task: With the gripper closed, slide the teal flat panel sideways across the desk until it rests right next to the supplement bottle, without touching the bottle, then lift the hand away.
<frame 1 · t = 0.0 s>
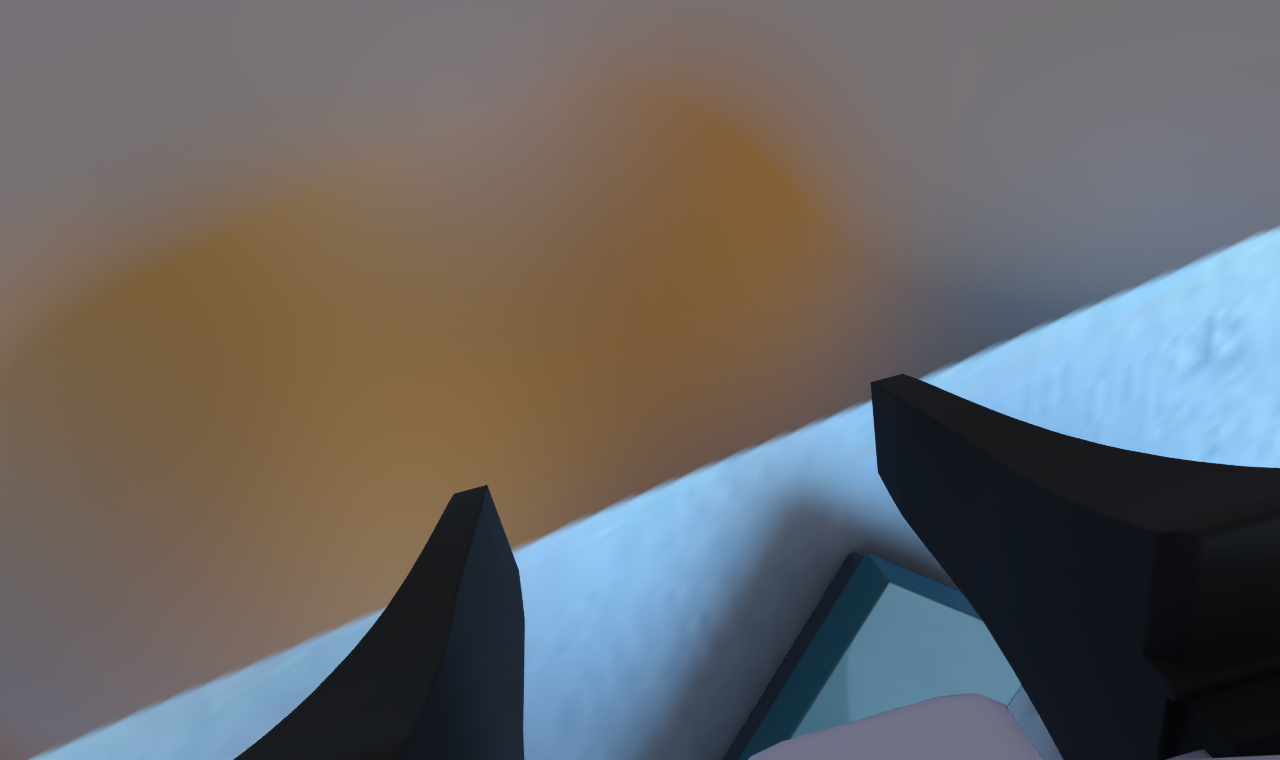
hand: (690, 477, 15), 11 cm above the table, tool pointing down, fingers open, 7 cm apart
teal flat panel: (840, 703, 30), on the table
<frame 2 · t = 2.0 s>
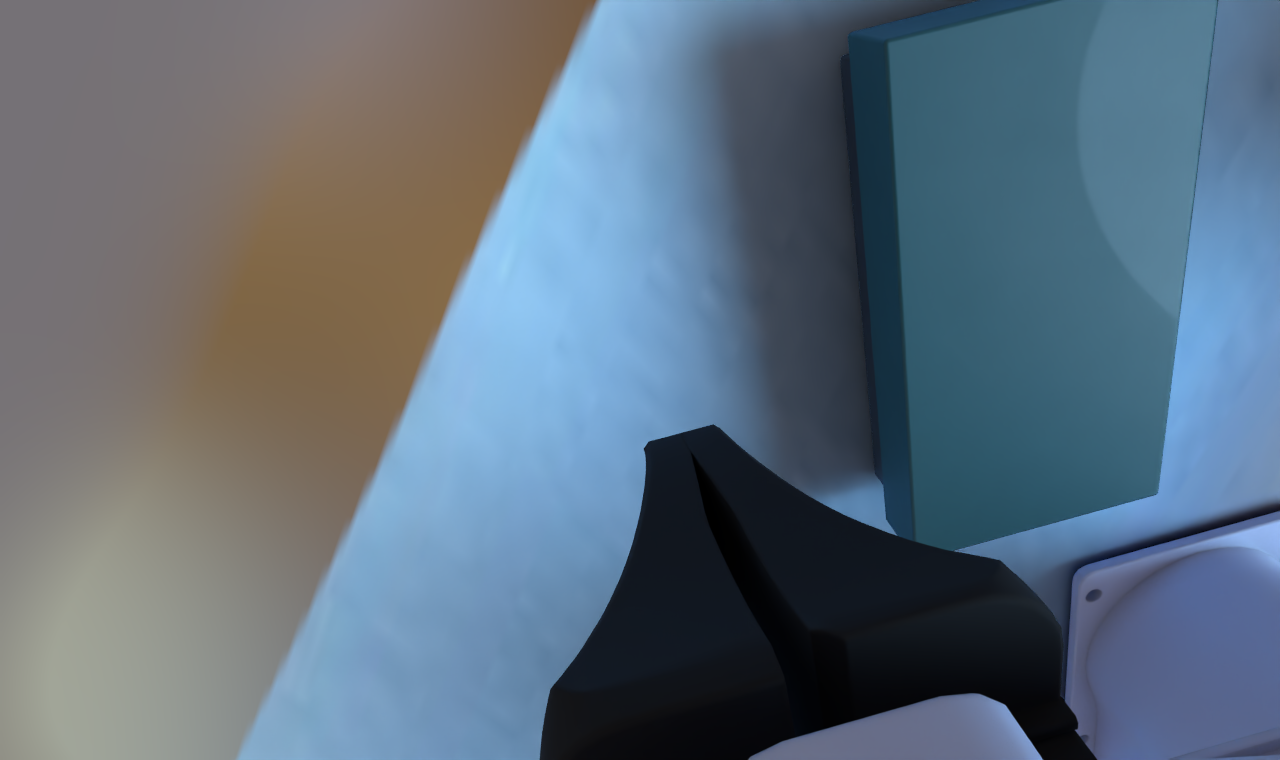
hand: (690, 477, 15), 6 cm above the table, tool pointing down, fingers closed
teal flat panel: (973, 262, 20), on the table
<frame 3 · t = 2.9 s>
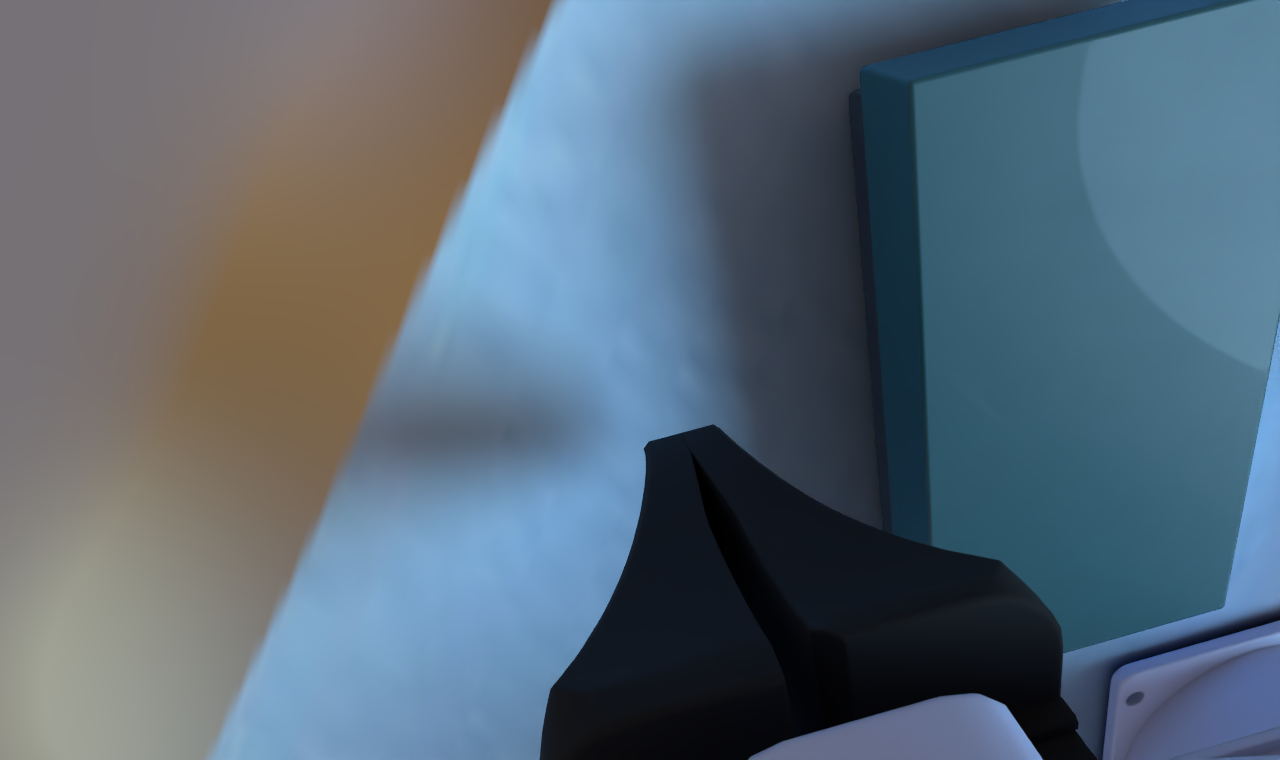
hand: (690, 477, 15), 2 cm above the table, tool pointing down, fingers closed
teal flat panel: (1006, 333, 17), on the table
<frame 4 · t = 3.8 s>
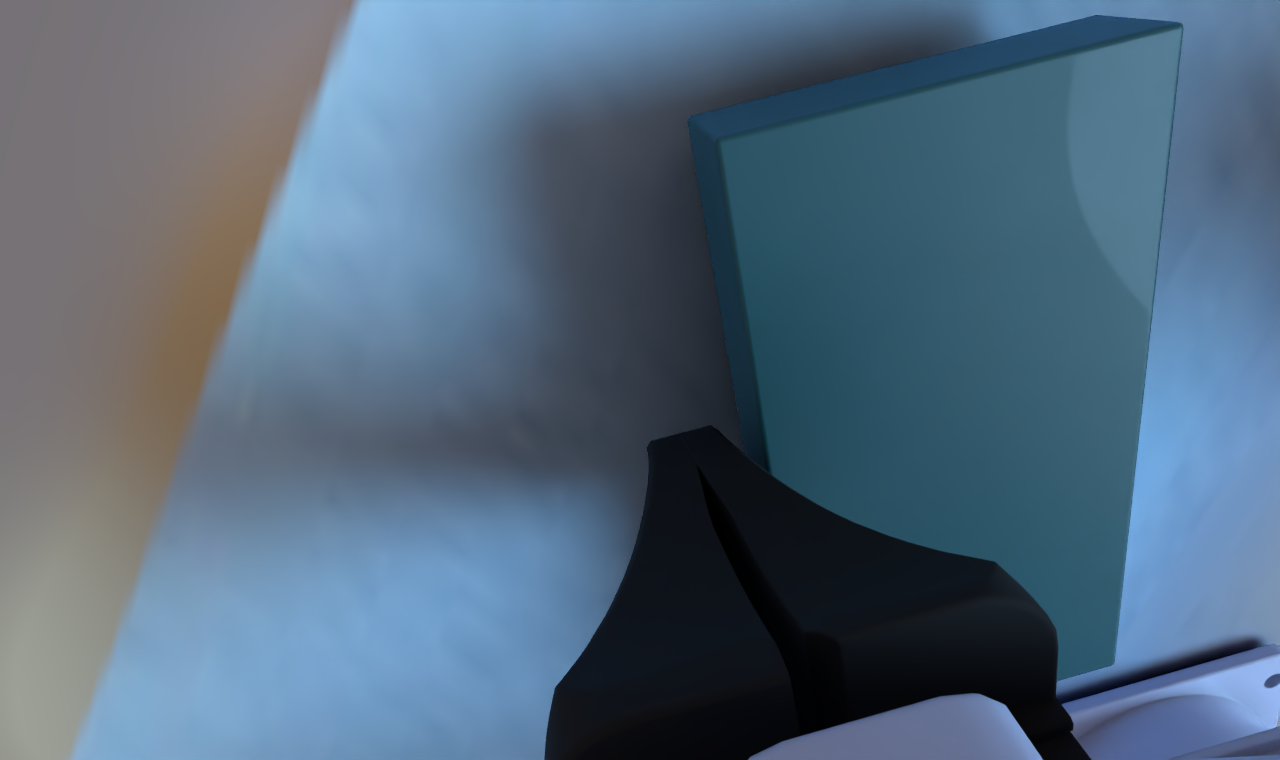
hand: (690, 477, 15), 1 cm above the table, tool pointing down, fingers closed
teal flat panel: (884, 381, 16), on the table, touching gripper
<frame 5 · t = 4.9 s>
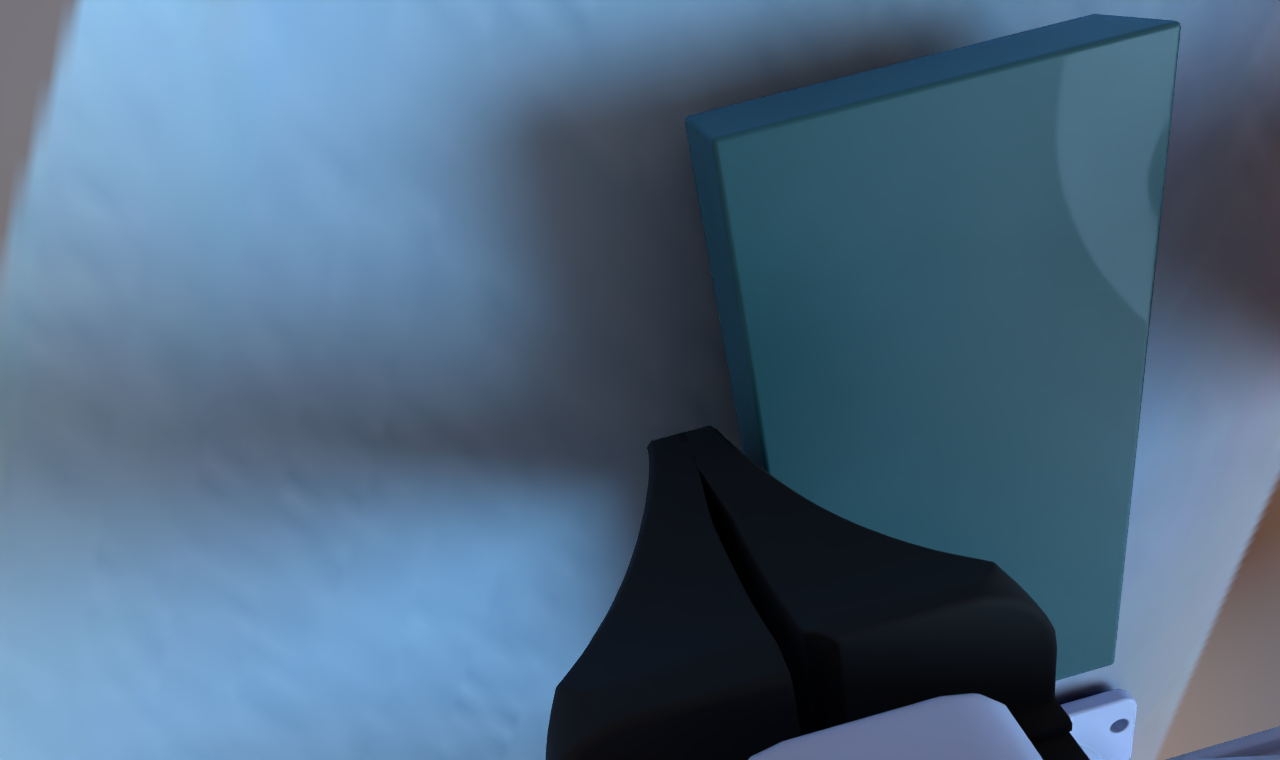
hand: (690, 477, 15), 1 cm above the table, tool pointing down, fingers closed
teal flat panel: (883, 381, 16), on the table, touching gripper
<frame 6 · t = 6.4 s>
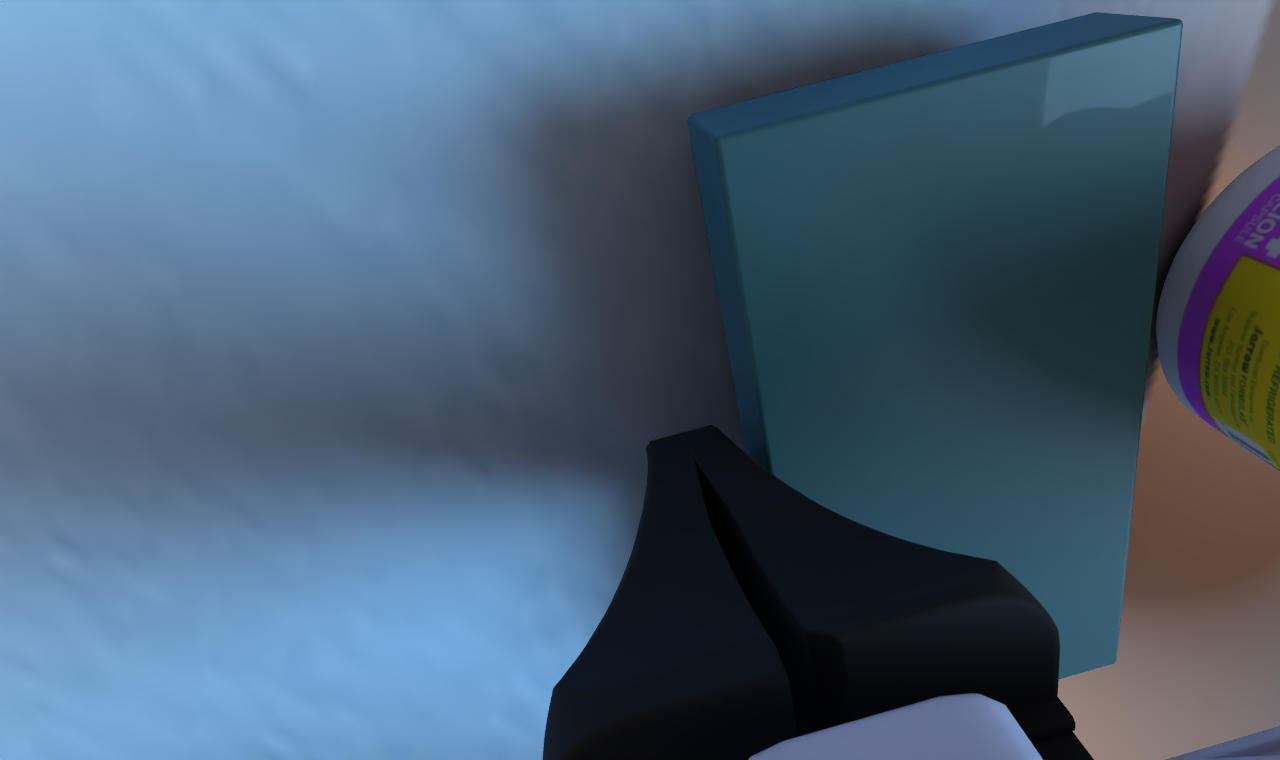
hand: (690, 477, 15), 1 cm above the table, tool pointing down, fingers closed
teal flat panel: (885, 379, 16), on the table, touching gripper
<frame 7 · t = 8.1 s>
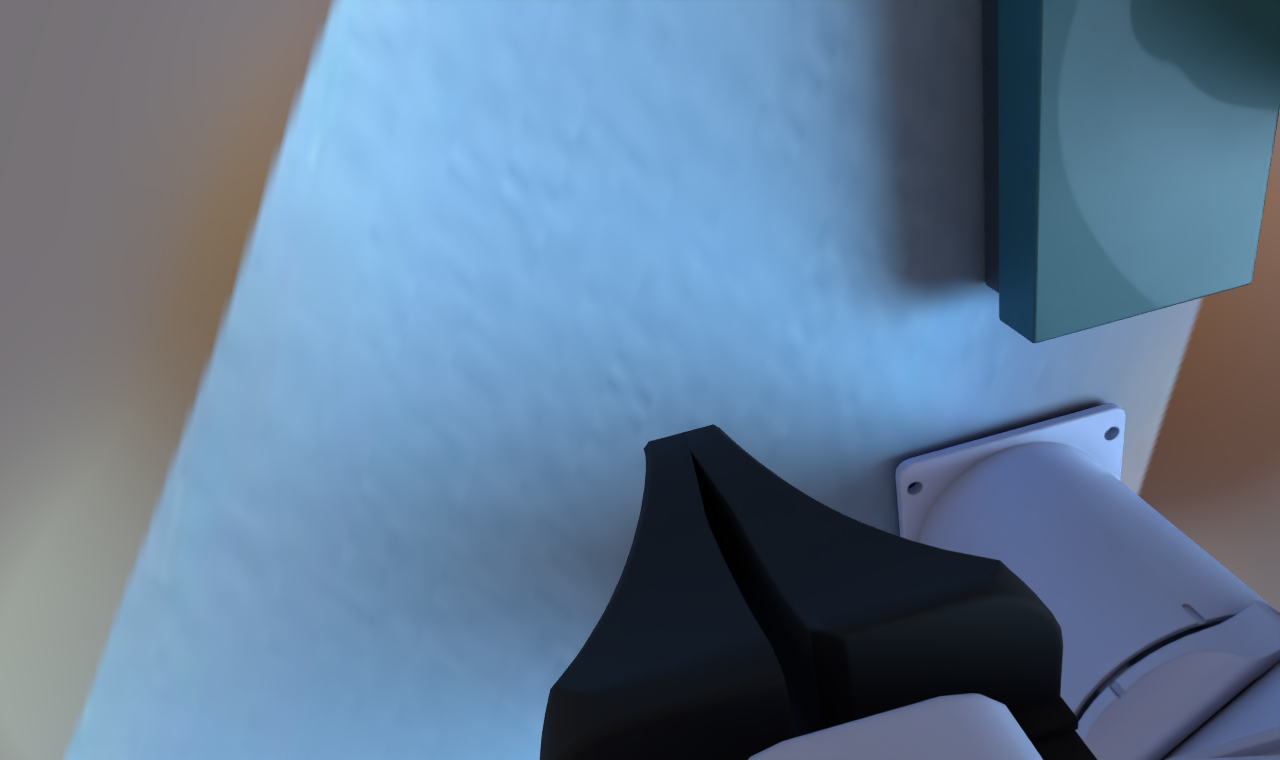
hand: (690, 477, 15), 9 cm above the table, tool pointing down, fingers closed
teal flat panel: (1085, 71, 22), on the table
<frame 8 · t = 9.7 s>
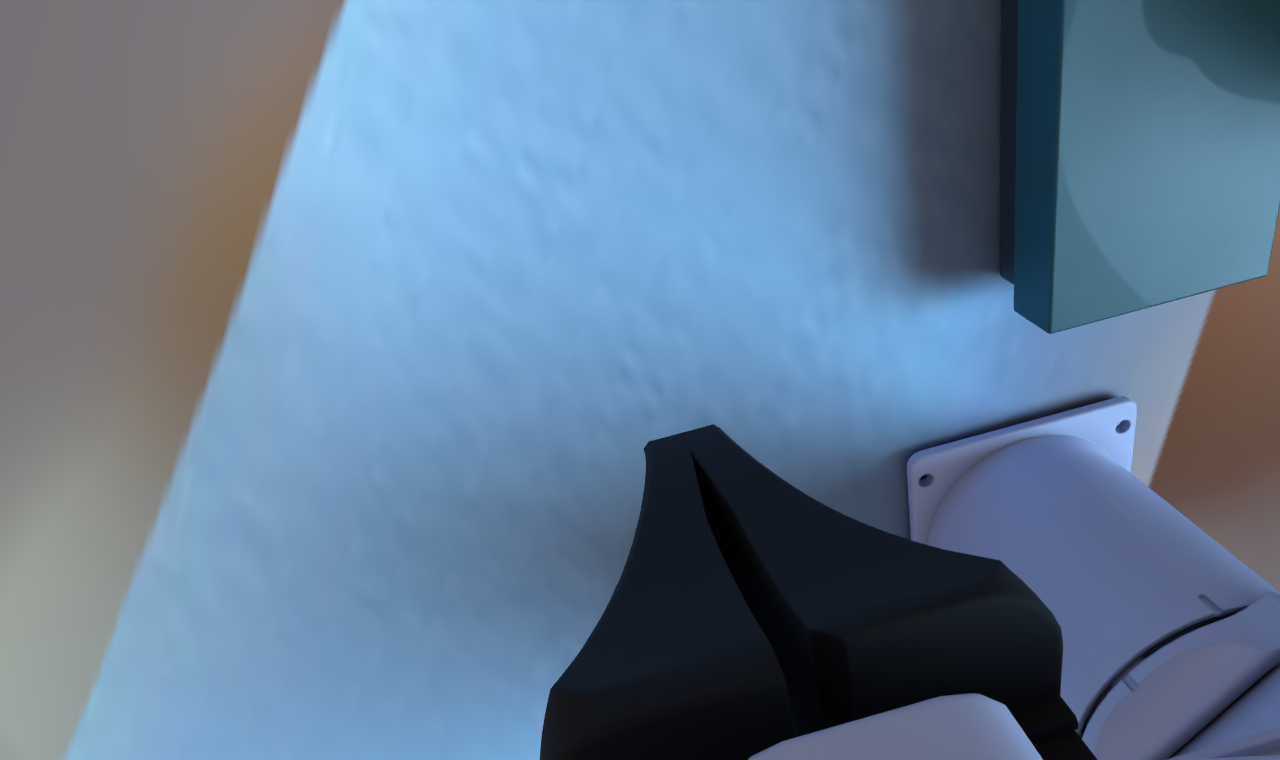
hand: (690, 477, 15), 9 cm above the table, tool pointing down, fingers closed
teal flat panel: (1102, 61, 22), on the table
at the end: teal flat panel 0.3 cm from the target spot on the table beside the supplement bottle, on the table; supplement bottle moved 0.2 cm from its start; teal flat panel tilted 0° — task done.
